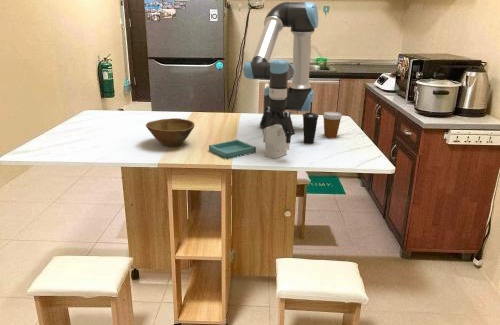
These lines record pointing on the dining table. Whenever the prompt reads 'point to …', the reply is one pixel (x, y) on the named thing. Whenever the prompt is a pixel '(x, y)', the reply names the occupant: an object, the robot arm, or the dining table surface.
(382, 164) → the dining table surface
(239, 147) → the tray
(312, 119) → the drinking cup
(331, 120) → the disposable coffee cup
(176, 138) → the bowl
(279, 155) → the small box
